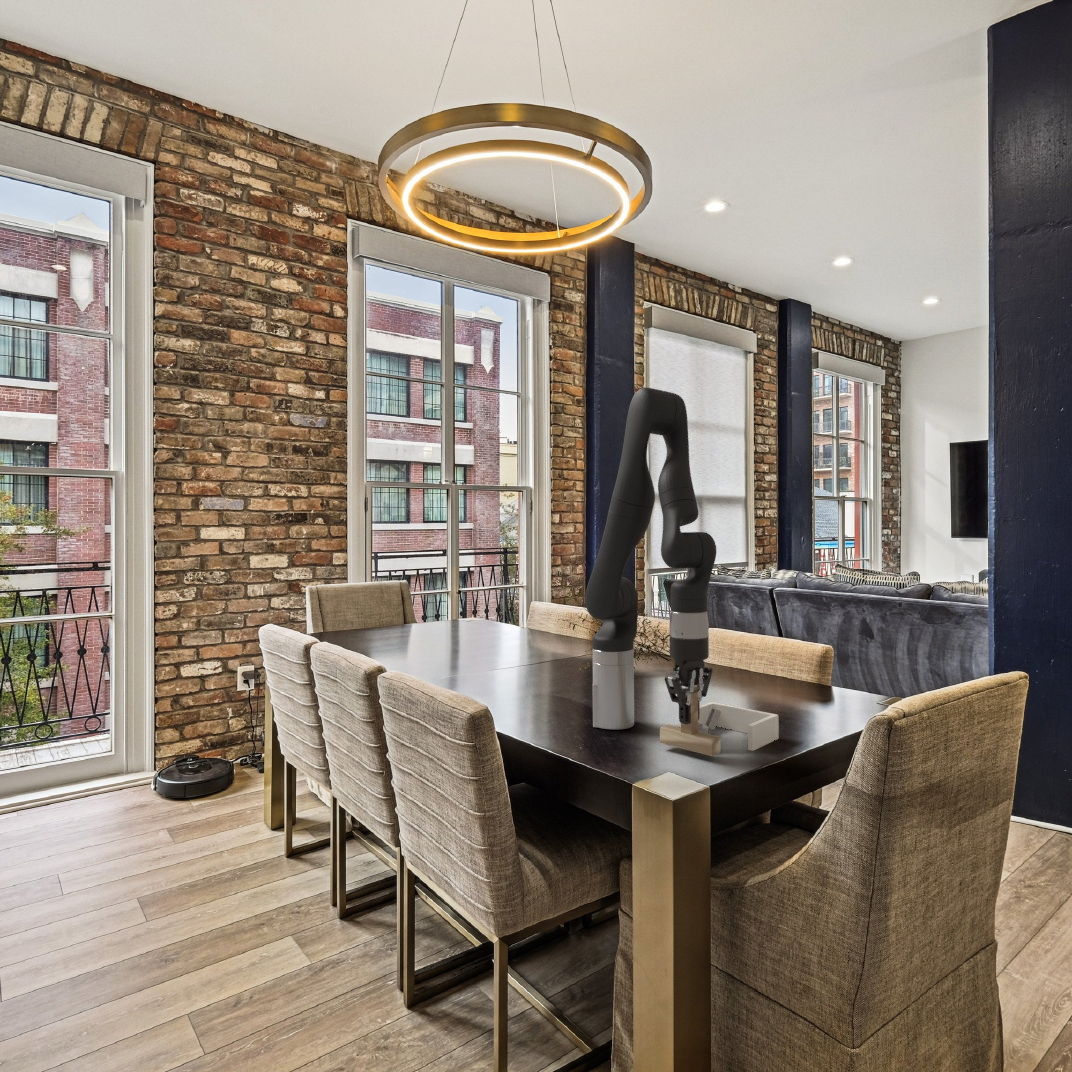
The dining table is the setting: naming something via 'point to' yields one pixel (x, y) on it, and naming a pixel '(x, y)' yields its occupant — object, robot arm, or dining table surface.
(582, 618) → the dried plant
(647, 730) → the dining table surface
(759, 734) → the box
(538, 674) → the dining table surface
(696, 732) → the wooden t-shaped post
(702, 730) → the lighter
